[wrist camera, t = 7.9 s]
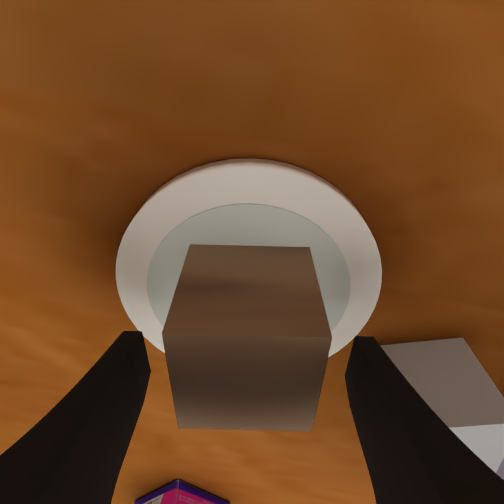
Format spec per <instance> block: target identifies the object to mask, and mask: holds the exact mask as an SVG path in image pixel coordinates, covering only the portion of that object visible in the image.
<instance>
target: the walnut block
mask: <svg viewBox="0 0 504 504" xmlns="http://www.w3.org/2000/svg"><path fill="white" fill-rule="evenodd" d="M162 339H163V344H164V350H165V356H166V361H167V367H168V373H169V378H170V384H171V390H172V395H173V401H174V407H175V412H176V418H177V424H178V428H189V429H234V430H279V431H312V429H313V425H314V420H315V415H316V411H317V406H318V401H319V397H320V392H321V388H322V383H323V378H324V374H325V369H326V364H327V360H328V355H329V350H330V346H331V341H332V334H331V330H330V326H329V322H328V318H327V314H326V310H325V306H324V302H323V298H322V295H321V291H320V287H319V283H318V279H317V275H316V271H315V267H314V263H313V259H312V255H311V251H310V247H286V246H243V245H200V244H190V245H189V249H188V252H187V255H186V258H185V261H184V264H183V267H182V271H181V274H180V277H179V280H178V283H177V286H176V290H175V293H174V296H173V299H172V302H171V305H170V309H169V312H168V315H167V318H166V321H165V324H164V328H163V331H162Z"/></svg>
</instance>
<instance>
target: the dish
mask: <svg viewBox="0 0 504 504" xmlns="http://www.w3.org/2000/svg"><path fill="white" fill-rule="evenodd" d="M190 244H200V245H243V246H286V247H310V251H311V255H312V259H313V263H314V267H315V271H316V275H317V279H318V283H319V287H320V291H321V295H322V298H323V302H324V306H325V310H326V314H327V318H328V322H329V326H330V330H331V334H332V341H331V346H330V350H329V355H328V357H330V356H332V355H333V354H335V353H336V352H338V351H339V350H341V349H342V348H343V347H344V346H346V345H347V344H348V343H349V342H350V341H351V340H352V339H353V338H354V337H355V336H356V335H357V334H358V333H359V332H360V331H361V329H362V328H363V327H364V325H365V324H366V323H367V321H368V320H369V318H370V316H371V314H372V312H373V311H374V308H375V306H376V303H377V301H378V298H379V293H380V289H381V283H382V266H381V259H380V254H379V251H378V247H377V244H376V241H375V239H374V237H373V235H372V233H371V231H370V230H369V228H368V226H367V224H366V222H365V221H364V219H363V217H362V215H361V214H360V213H359V211H358V210H357V209H356V207H355V206H354V205H353V203H352V202H351V201H350V200H349V199H348V198H347V197H346V196H345V195H344V194H343V193H342V192H341V191H340V190H339V189H337V188H336V187H335V186H333V185H332V184H331V183H329V182H328V181H326V180H325V179H323V178H321V177H319V176H318V175H316V174H314V173H312V172H310V171H308V170H305V169H302V168H300V167H297V166H294V165H291V164H288V163H283V162H279V161H274V160H267V159H256V158H242V159H228V160H222V161H217V162H211V163H208V164H205V165H202V166H199V167H195V168H193V169H190V170H188V171H186V172H184V173H182V174H180V175H178V176H176V177H174V178H173V179H171V180H170V181H168V182H167V183H165V184H164V185H162V186H161V187H160V188H159V189H158V190H157V191H156V192H154V193H153V194H152V195H151V196H150V197H149V198H148V199H147V201H146V202H145V203H144V204H143V206H142V207H141V208H140V209H139V211H138V212H137V214H136V215H135V217H134V218H133V220H132V221H131V223H130V225H129V226H128V228H127V230H126V232H125V233H124V235H123V238H122V241H121V243H120V246H119V249H118V254H117V260H116V283H117V288H118V293H119V296H120V299H121V302H122V305H123V307H124V309H125V311H126V313H127V315H128V316H129V318H130V319H131V321H132V322H133V324H134V325H135V327H136V328H137V329H138V330H139V331H142V334H143V336H144V337H145V338H146V339H147V340H149V341H150V342H151V343H152V344H153V345H154V346H156V347H157V348H158V349H160V350H161V351H163V352H164V353H165V350H164V344H163V339H162V331H163V328H164V324H165V321H166V318H167V315H168V312H169V309H170V305H171V302H172V299H173V296H174V293H175V290H176V286H177V283H178V280H179V277H180V274H181V271H182V267H183V264H184V261H185V258H186V255H187V252H188V249H189V245H190Z"/></svg>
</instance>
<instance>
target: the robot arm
mask: <svg viewBox="0 0 504 504" xmlns="http://www.w3.org/2000/svg"><path fill="white" fill-rule="evenodd" d="M150 372H151V370H150V365H149V361H148V356H147V352H146V347H145V343H144V338H143V334H142V331H124V332H122V333H121V334H120V336H119V337H118V338H117V339H116V340H115V341H114V343H113V344H112V345H111V346H110V347H109V348H108V350H107V351H106V352H105V353H104V354H103V355H102V357H101V358H100V359H99V360H98V361H97V362H96V363H95V365H94V366H93V367H92V368H91V369H90V370H89V371H88V372H87V373H86V374H85V376H84V377H83V378H82V379H81V380H80V381H79V382H78V383H77V384H76V385H75V386H74V387H73V388H72V390H71V391H70V392H69V393H68V394H67V395H66V396H65V397H64V398H63V399H62V400H61V401H60V402H59V403H58V404H57V405H56V406H55V407H54V408H53V409H52V410H51V411H50V412H49V413H48V414H47V415H45V416H44V417H43V418H42V419H41V420H40V421H39V422H38V423H37V424H36V425H35V426H34V427H33V428H32V429H30V430H29V431H28V432H27V433H26V434H25V435H24V436H23V437H21V438H20V439H19V440H18V441H17V442H16V443H15V444H13V445H12V446H11V447H10V448H9V449H7V450H6V451H5V452H4V453H3V454H1V455H0V504H111V500H112V496H113V493H114V489H115V485H116V482H117V479H118V475H119V472H120V469H121V466H122V463H123V460H124V458H125V455H126V452H127V449H128V446H129V443H130V440H131V437H132V435H133V432H134V429H135V426H136V423H137V420H138V417H139V414H140V412H141V409H142V406H143V403H144V399H145V395H146V391H147V386H148V382H149V377H150ZM345 380H346V386H347V392H348V398H349V403H350V408H351V411H352V415H353V418H354V422H355V426H356V429H357V432H358V436H359V439H360V443H361V446H362V450H363V453H364V456H365V460H366V463H367V467H368V470H369V474H370V477H371V481H372V485H373V489H374V493H375V498H376V503H377V504H504V458H503V460H502V462H501V464H500V466H499V468H498V470H497V472H496V473H495V472H494V471H493V470H492V469H491V468H489V467H488V466H487V465H486V464H485V463H484V462H483V461H482V460H481V459H480V458H479V457H478V456H477V455H476V454H475V453H474V452H472V451H471V450H470V449H469V448H468V447H467V446H466V445H465V444H464V443H463V442H462V441H461V440H460V439H459V438H458V437H457V436H456V435H455V434H454V433H453V432H452V430H451V429H450V428H449V427H448V426H447V425H446V424H445V423H444V422H443V421H442V420H441V419H440V418H439V416H438V415H437V414H436V413H435V412H434V411H433V410H432V409H431V408H430V407H429V405H428V404H427V403H426V402H425V401H424V400H423V399H422V397H421V396H420V395H419V394H418V393H417V391H416V390H415V389H414V388H413V387H412V385H411V384H410V383H409V382H408V381H407V379H406V378H405V377H404V376H403V374H402V373H401V372H400V371H399V369H398V368H397V367H396V365H395V364H394V363H393V362H392V360H391V359H390V358H389V356H388V355H387V354H386V352H385V351H384V350H383V349H382V347H381V346H380V345H379V343H378V342H377V341H376V339H375V338H374V337H362V336H355V338H354V342H353V346H352V350H351V354H350V357H349V361H348V365H347V369H346V373H345Z"/></svg>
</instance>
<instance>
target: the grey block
mask: <svg viewBox="0 0 504 504" xmlns="http://www.w3.org/2000/svg"><path fill="white" fill-rule="evenodd" d="M380 346H381V347H382V349H383V350H384V351H385V352H386V354H387V355H388V356H389V358H390V359H391V360H392V362H393V363H394V364H395V365H396V367H397V368H398V369H399V371H400V372H401V373H402V374H403V376H404V377H405V378H406V379H407V381H408V382H409V383H410V384H411V385H412V387H413V388H414V389H415V390H416V391H417V393H418V394H419V395H420V396H421V397H422V399H423V400H424V401H425V402H426V403H427V404H428V405H429V407H430V408H431V409H432V410H433V411H434V412H435V413H436V414H437V415H438V416H439V418H440V419H441V420H442V421H443V422H444V423H445V424H446V425H447V426H448V427H449V428H450V429H451V430H452V432H453V433H454V434H455V435H456V436H457V437H458V438H459V439H460V440H461V441H462V442H463V443H464V444H465V445H466V446H467V447H468V448H469V449H470V450H471V451H472V452H474V453H475V454H476V455H477V456H478V457H479V458H480V459H481V460H482V461H483V462H484V463H485V464H486V465H487V466H488V467H489V468H491V469H492V470H493V471H494V472H495V473H496V472H497V470H498V468H499V466H500V464H501V462H502V460H503V458H504V397H503V396H502V394H501V393H500V391H499V390H498V388H497V387H496V385H495V384H494V382H493V381H492V380H491V378H490V377H489V375H488V374H487V372H486V371H485V369H484V368H483V366H482V365H481V363H480V362H479V360H478V359H477V357H476V356H475V355H474V353H473V352H472V350H471V349H470V347H469V346H468V344H467V343H466V341H465V340H464V338H463V337H462V338H452V339H442V340H431V341H421V342H410V343H400V344H390V345H380Z"/></svg>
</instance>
